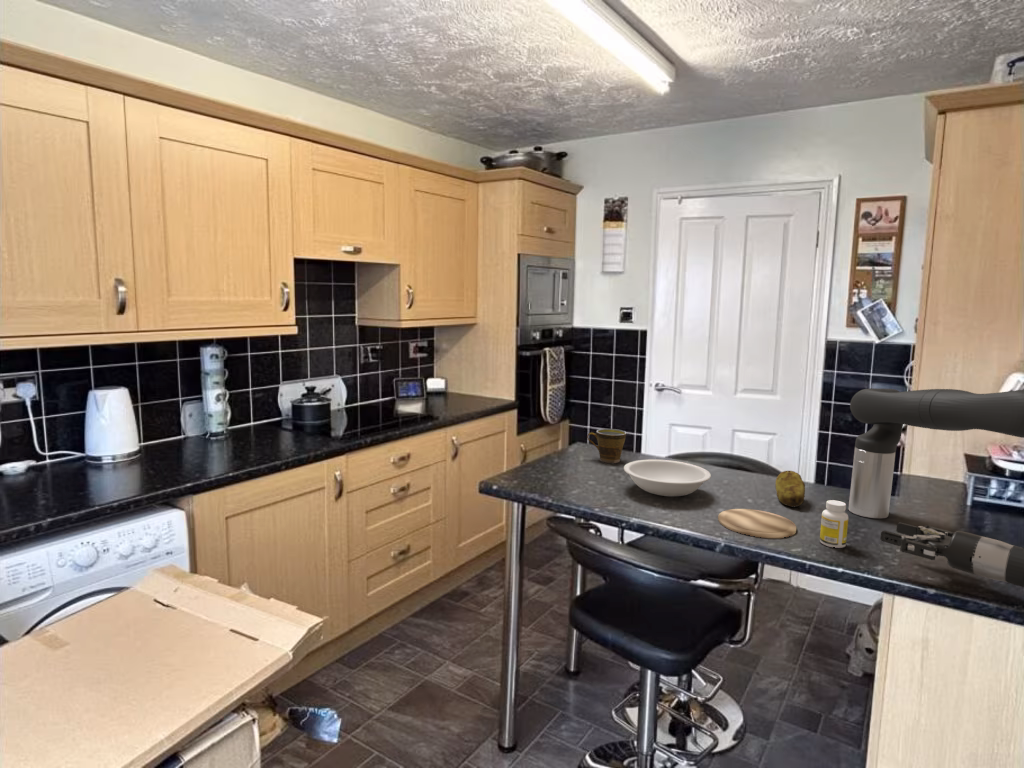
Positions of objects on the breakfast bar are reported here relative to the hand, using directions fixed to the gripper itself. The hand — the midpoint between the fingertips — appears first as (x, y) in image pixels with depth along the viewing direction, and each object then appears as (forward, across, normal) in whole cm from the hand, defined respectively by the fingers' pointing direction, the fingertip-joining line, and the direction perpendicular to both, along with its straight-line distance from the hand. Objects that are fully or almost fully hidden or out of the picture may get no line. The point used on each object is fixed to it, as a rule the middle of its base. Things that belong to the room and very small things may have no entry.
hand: (889, 531), depth 132 cm
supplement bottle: (+11, 0, +7) cm, 13 cm away
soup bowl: (+57, +1, +6) cm, 58 cm away
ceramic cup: (+91, -11, +6) cm, 92 cm away
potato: (+32, -21, +7) cm, 39 cm away
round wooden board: (+28, +3, +6) cm, 29 cm away
